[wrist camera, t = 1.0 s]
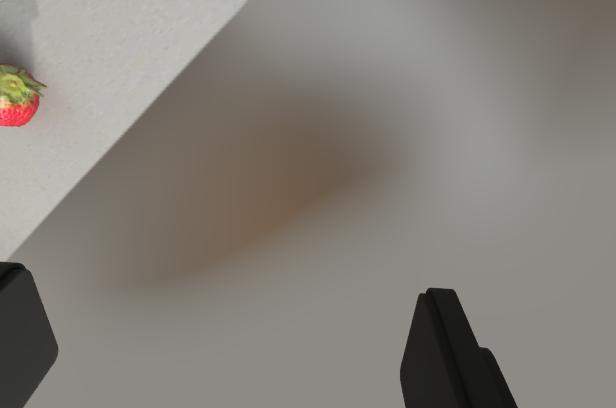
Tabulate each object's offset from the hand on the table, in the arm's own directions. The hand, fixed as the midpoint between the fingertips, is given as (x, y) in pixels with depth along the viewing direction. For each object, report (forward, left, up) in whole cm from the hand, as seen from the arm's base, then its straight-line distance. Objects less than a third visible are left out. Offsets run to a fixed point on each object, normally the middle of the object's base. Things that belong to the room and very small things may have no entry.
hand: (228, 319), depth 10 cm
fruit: (+2, -20, -23) cm, 31 cm away
